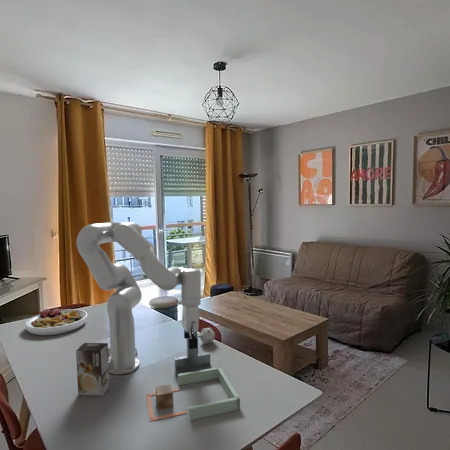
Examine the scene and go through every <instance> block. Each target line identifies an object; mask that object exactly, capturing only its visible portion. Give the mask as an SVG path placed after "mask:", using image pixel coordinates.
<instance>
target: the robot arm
mask: <svg viewBox="0 0 450 450" xmlns="http://www.w3.org/2000/svg"><path fill="white" fill-rule="evenodd" d="M142 234H143V231H142V227H141V226H140V225H139V224H137V223H136V222H135V221H134V222H133V221H125V222H122V221H121V222H100V223H99V222H98V223H91V224H88V225H85V226H84V227H82V228H81V230H79V232H78V234H77V237H76V248H77V250H78V253H79V255H80V256H81V258H82V259H83V261H84V262H85V264H86V265H87V267H88V270H89V271H90V273H91V275H92V276H93V279H94V280H95V282H96V283H97V284H98V287H99V288H100V289H101V290H103V291H106V292H107V291H113V290H114V289H115V291H114V292H113V293H112V294H111V295H110V296H109V297H108V299H107V300H106V301H107V302H106V309H107V310H106V311H107V314H108V315H107V316H108V321H109V343H110V344H109V345H110V354H109V356H108V362H109V374H112V375H125V374H126V375H127V374H128V373H132V372H135V371H136V370H137V369H138V368H139V366H140V360H139V359H138V358H137V357H136V333H135V329H136V328H135V318H134V315H133V309H134V308H135V307H136V306H138V304H140V302H141V300H142V296H143V294H142V291H141V289H140V286H139V285H138V283H137V282H136V279H135V278H134V276H133V274H132V273H131V271H130V269H129V268H128V267H127V266H126V265H125V264H122V263H119V262H116V263H115V262H114V263H113V262H112V261H111V259H110V258H109V255H108V254H107V252H106V251H104V249H102V247H101V246H100V245H102V244H107V243H117V244H118V245H120V247H122V249H124V250H125V251H126V252H127V253H128V254H129V255H130V256H131V257H133V259H135V260H136V261H137V262H138V265H139V266H140V268H141V270H142V272H143V274H145V276H146V277H147V278H148V279H149V281H151V282H152V283H153V284H154V285H155V286H157V287H158V288H159V289H161V290H163V291H166V292H167V291H171V290H174V289H175V288H176V287H178V286H181V287H180V289H181V292H180V293H181V296H180V298H181V300H180V301H181V303H180V304H181V306H182V313H181V315H182V316H181V326H182V328H183V338H184V339H186V340H187V338H189V349H194V348H197V347H198V348H199V337H198V336H199V335H198V331H199V322H200V321H199V306H201V298H202V297H201V293H202V292H201V290H202V288H201V286H202V283H201V279H202V273H201V270H200V269H199V268H195V267H190V268H188V267H187V268H185V267H180V266H176V265H175V266H170V267H169V268H167V266H164V264H162V263H161V262H160V260H159V259H158V258H157V255H156V252H155V246H154V244H152V243H151V241H149V240H148V239H146V237H144V235H142ZM97 284H96V285H97Z"/></svg>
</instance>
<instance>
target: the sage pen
mask: <svg viewBox="0 0 450 450" xmlns="http://www.w3.org/2000/svg"><path fill="white" fill-rule="evenodd" d="M221 367H222V366H217V367H211V368H210V369H205V370H199V371H193V372H187V373H182V374H178V377H177V383H178V386H181V385H186V384H192V383H196V382H197V383H198V382H202V381H208V380H213V379H214V380H215V379H218V381H219V382H220V384H221V385H222V387H223V389H224V391H225V392H226V394H227V396H228V397H229V398H226V399H221V400H216V401H211V402H205V403H202V404H196V405H192V406H188V417H189V418H188V419H189V421H193V420H198V419H202V418H203V419H204V418H207V417H212V416H215V415H221V414H225V413H229V412H234V411H238V410H241V398H240V397H239V394H238V393H237V392H236V390H235V389H234V387H233V385H232V383H231V382H230V381H229V378H228V377H227V376H226V374H225V372H224V371H223V369H222V368H221Z"/></svg>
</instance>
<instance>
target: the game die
mask: <svg viewBox="0 0 450 450" xmlns="http://www.w3.org/2000/svg"><path fill="white" fill-rule="evenodd" d="M200 329H201V331H200V333H199V335H197V336H198V338H199V339H200V341H201V343H202V346H205V345H206V344H207V345H208V344H213V345H214V340H215V338H216V336H217V335H218V334H217V333H215V331H214V330H213V328H212V325H211V326H210V327H201V328H200Z"/></svg>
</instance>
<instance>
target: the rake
mask: <svg viewBox="0 0 450 450" xmlns="http://www.w3.org/2000/svg"><path fill="white" fill-rule="evenodd" d="M210 368H212V364H211V353H210V351H209V352H207V351H206V352H201V353H199V346H198V347H197V348H194V349H189V338H186V355H182V356H176V357H174V374H175V377H176V378H178V374H182V373H187V372H193V371H199V370H205V369H210Z"/></svg>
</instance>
